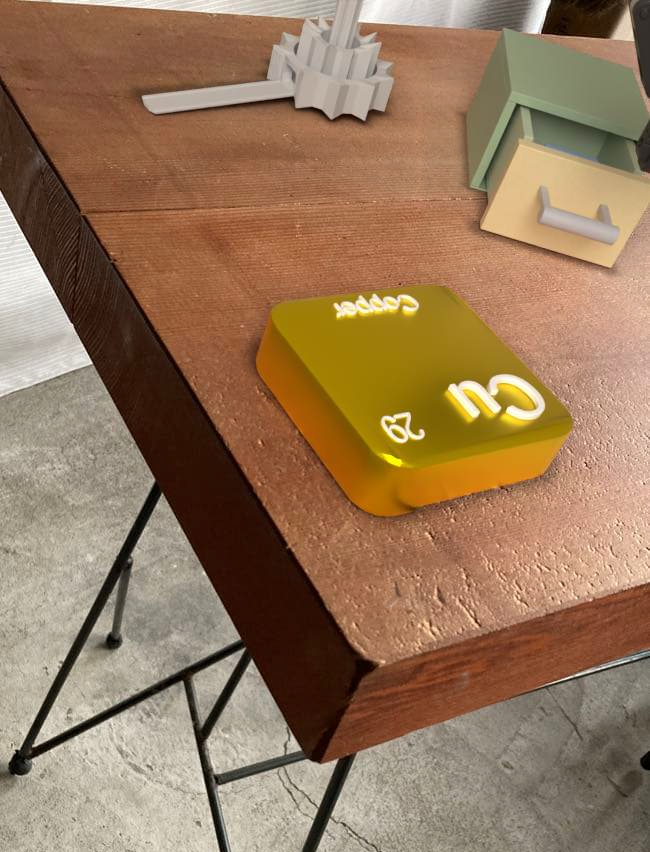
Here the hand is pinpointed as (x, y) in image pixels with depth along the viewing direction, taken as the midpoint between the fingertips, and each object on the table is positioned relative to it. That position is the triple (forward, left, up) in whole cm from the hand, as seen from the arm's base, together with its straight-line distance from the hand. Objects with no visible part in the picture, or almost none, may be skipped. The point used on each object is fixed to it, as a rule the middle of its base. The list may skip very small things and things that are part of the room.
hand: (649, 168), depth 66 cm
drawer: (+1, -13, -12) cm, 18 cm away
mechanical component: (+25, -22, -13) cm, 35 cm away
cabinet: (+1, -24, -13) cm, 27 cm away
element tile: (+13, +17, -13) cm, 25 cm away
